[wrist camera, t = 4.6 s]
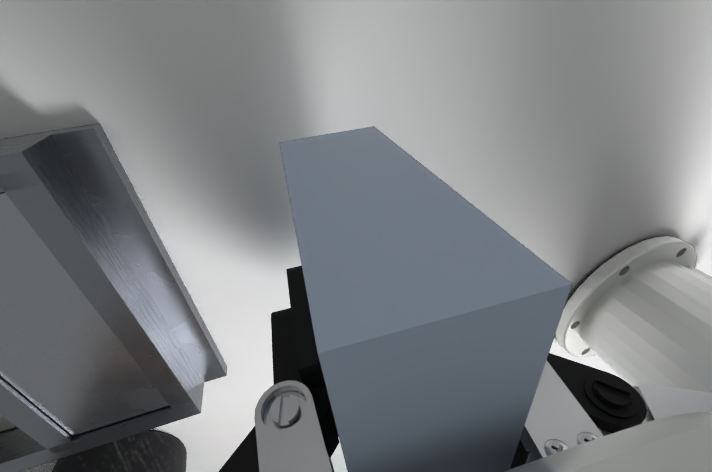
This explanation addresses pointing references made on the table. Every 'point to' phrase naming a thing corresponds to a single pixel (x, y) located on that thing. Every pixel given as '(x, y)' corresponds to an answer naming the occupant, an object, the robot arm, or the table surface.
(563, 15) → the table surface
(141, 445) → the travel mug
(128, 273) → the rack
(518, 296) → the panel
